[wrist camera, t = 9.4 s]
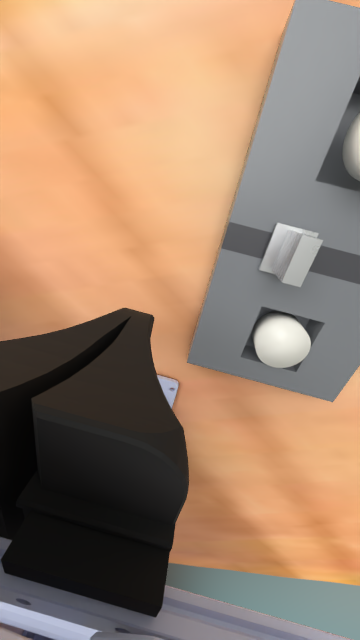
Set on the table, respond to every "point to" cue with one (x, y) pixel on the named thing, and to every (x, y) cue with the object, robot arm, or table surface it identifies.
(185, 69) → the table surface
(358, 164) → the button
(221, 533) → the table surface
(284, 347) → the button
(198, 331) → the switch panel
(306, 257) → the slider tab
